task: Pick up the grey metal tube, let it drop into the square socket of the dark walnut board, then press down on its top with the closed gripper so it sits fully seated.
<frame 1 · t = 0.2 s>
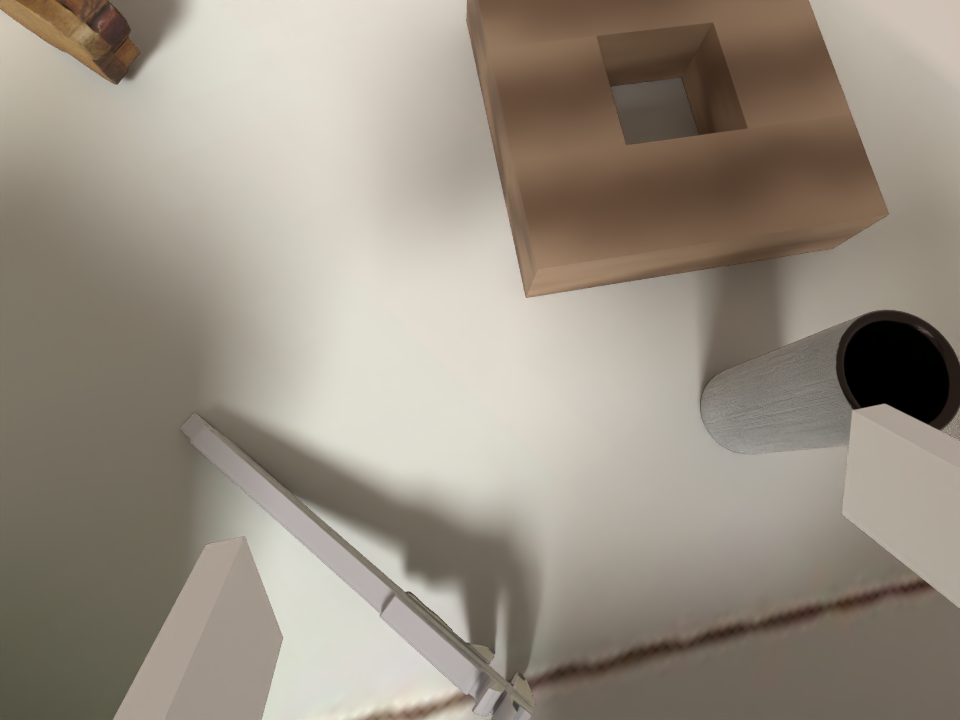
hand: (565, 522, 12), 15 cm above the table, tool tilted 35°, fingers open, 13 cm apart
wooden carving: (52, 26, 31), on the table
socket board: (643, 130, 32), on the table
caliper: (350, 548, 26), on the table
grey metal tube: (739, 411, 28), on the table
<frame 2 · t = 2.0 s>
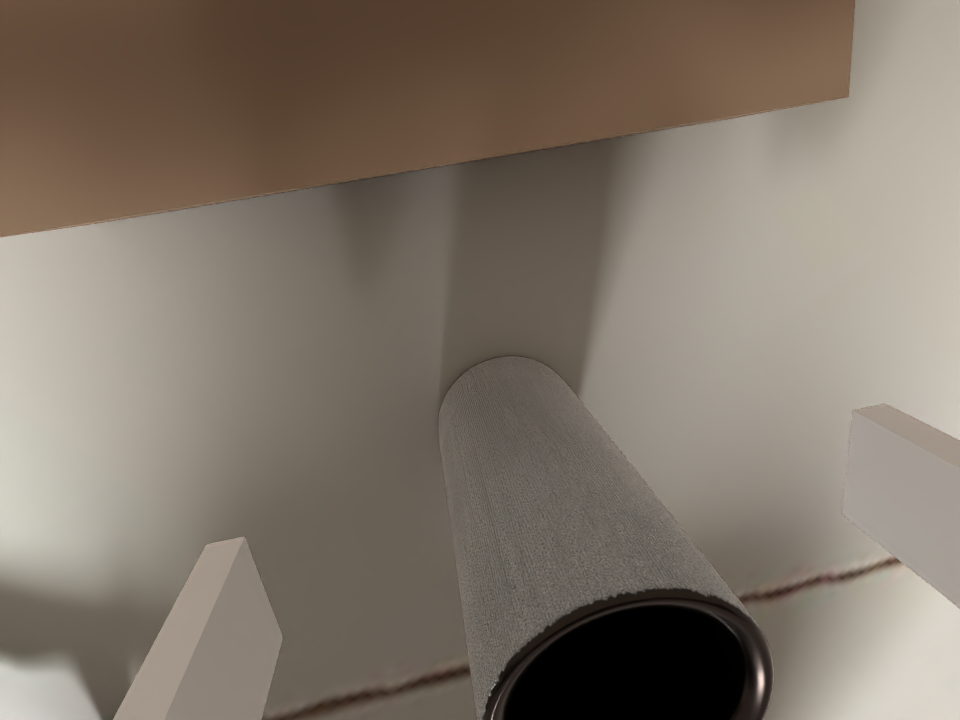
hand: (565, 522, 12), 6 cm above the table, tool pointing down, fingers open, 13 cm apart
grey metal tube: (505, 417, 18), on the table
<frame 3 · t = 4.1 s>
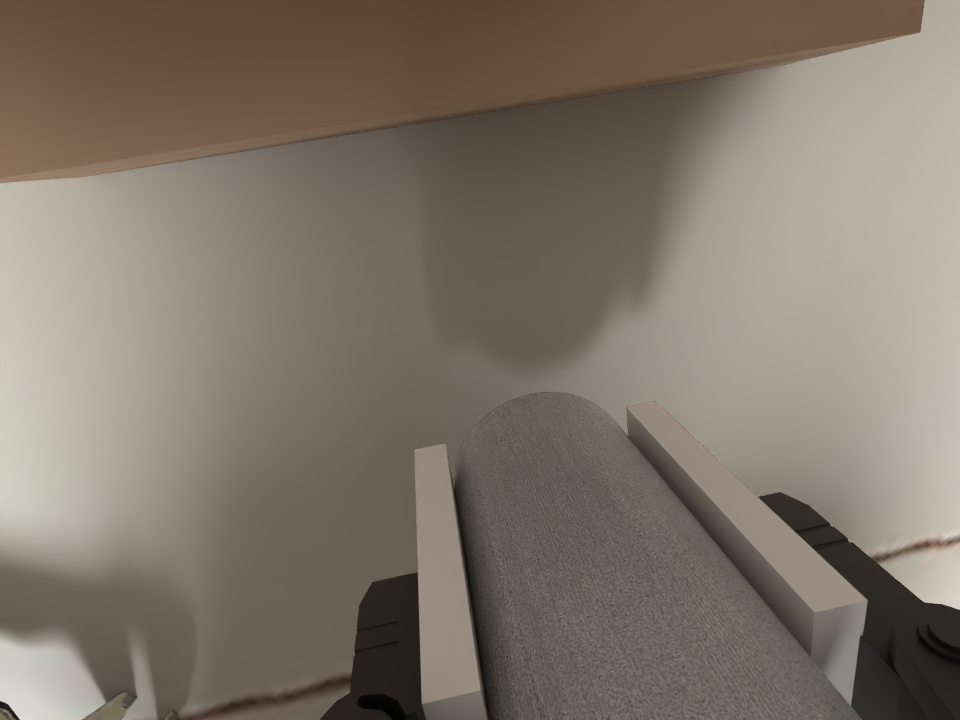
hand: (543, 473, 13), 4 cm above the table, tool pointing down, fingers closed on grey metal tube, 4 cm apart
grey metal tube: (539, 466, 14), point 3 cm above the table, touching gripper
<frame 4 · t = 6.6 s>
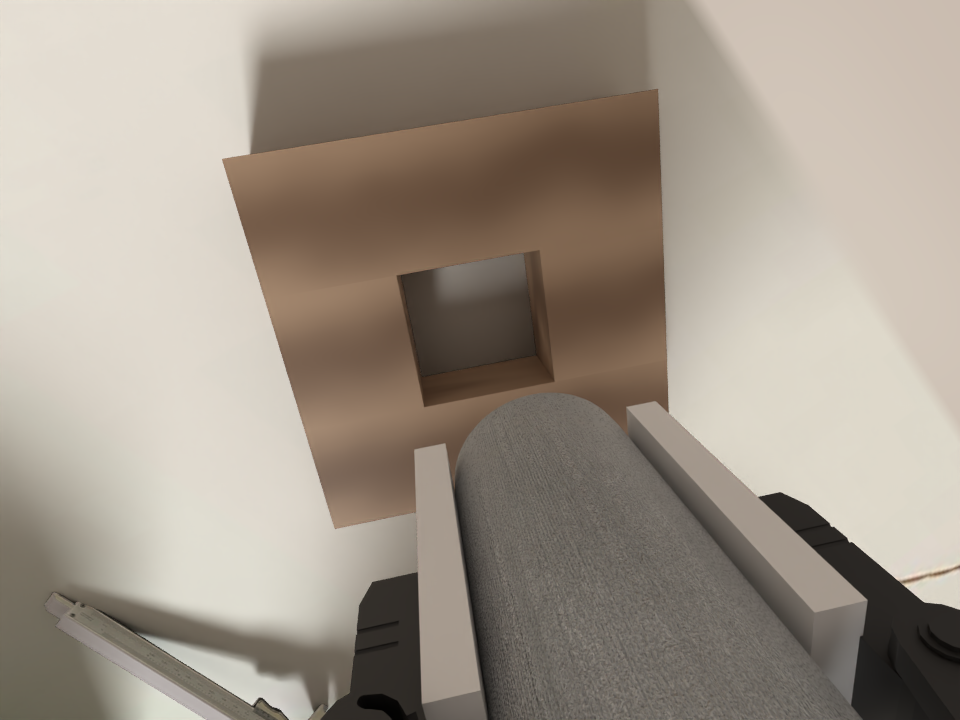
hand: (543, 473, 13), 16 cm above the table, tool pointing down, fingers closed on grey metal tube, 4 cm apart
socket board: (470, 310, 29), on the table
caliper: (213, 658, 35), on the table
grey metal tube: (539, 467, 14), point 16 cm above the table, touching gripper
when the fingers open (5 cm above the table, at t = 9.2 s): grey metal tube drops 5 cm, resting in socket board.
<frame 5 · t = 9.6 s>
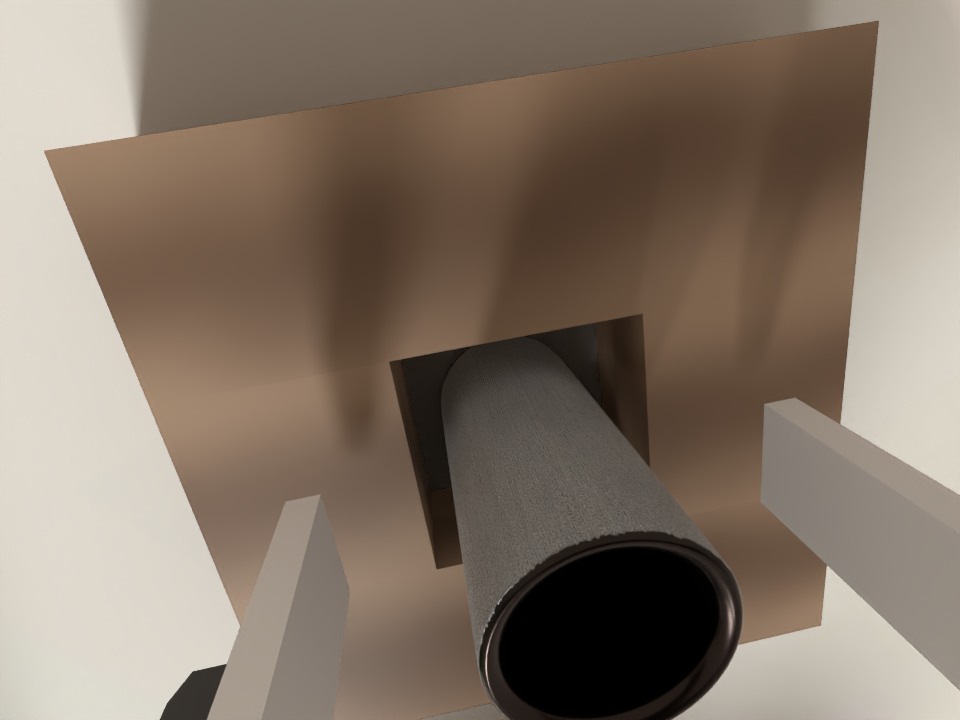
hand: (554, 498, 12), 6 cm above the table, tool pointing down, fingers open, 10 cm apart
socket board: (507, 392, 18), on the table
grey metal tube: (505, 394, 19), resting in socket board
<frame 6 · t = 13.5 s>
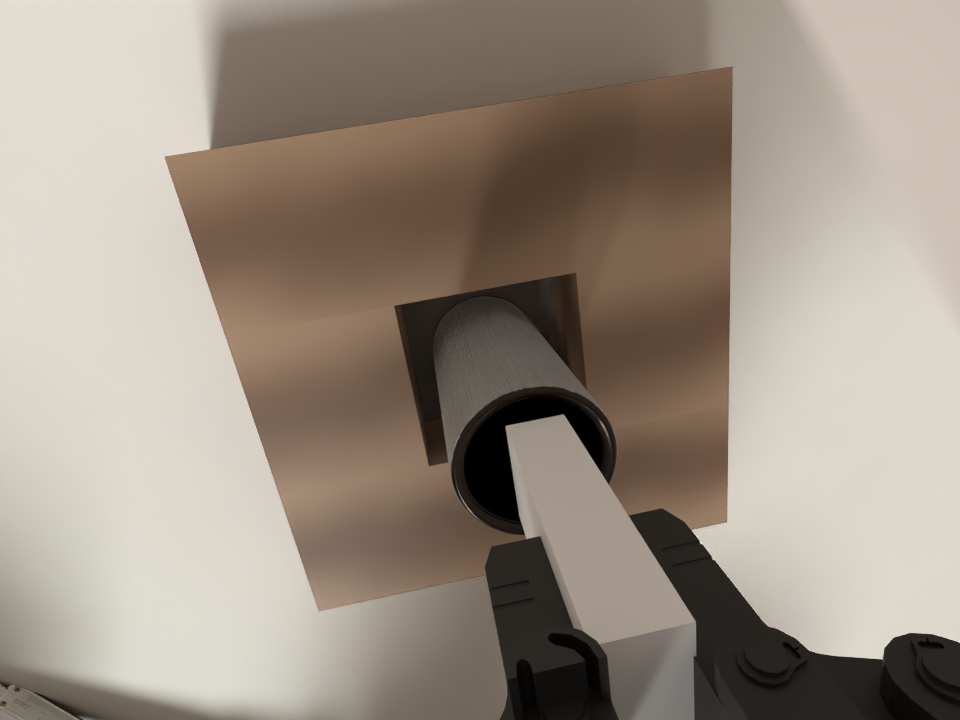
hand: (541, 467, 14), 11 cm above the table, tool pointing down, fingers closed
socket board: (484, 341, 24), on the table
grey metal tube: (483, 343, 24), resting in socket board
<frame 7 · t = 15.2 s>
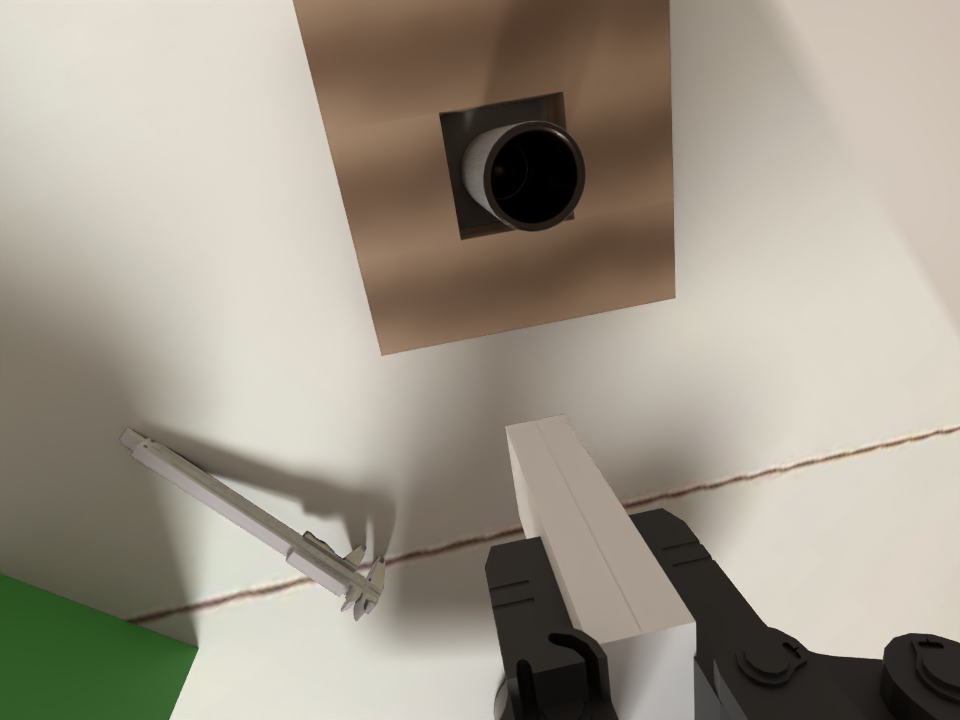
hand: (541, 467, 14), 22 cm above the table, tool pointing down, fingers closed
socket board: (498, 166, 32), on the table
caliper: (265, 498, 39), on the table
hardback book: (66, 636, 41), on the table
grey metal tube: (497, 169, 33), resting in socket board
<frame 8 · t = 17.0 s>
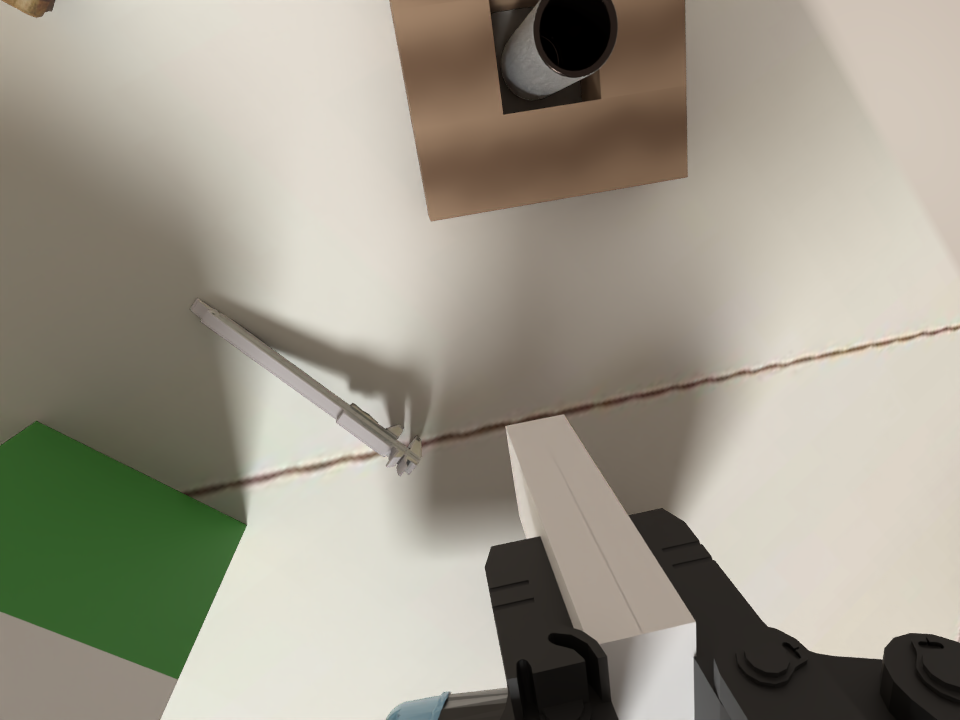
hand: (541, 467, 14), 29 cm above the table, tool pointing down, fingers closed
socket board: (533, 61, 37), on the table
caliper: (314, 375, 43), on the table
hardback book: (127, 507, 45), on the table
grey metal tube: (531, 65, 37), resting in socket board
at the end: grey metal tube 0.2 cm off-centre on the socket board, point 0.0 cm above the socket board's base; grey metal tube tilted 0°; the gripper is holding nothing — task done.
